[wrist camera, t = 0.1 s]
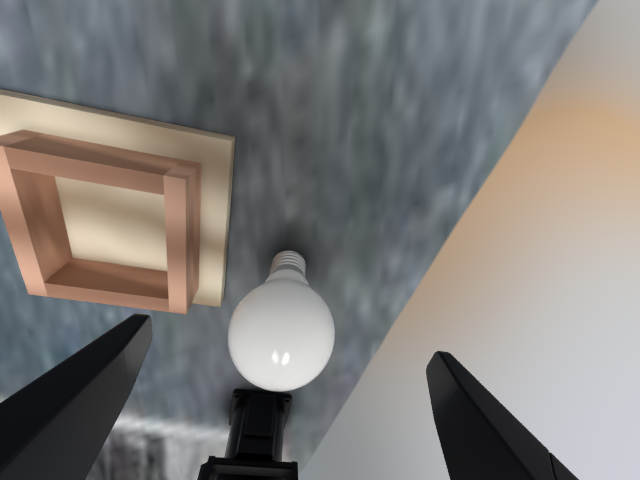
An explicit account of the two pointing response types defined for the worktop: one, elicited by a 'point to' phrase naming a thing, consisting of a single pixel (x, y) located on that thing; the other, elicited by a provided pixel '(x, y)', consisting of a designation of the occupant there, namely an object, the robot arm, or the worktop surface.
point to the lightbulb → (282, 329)
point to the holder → (114, 204)
